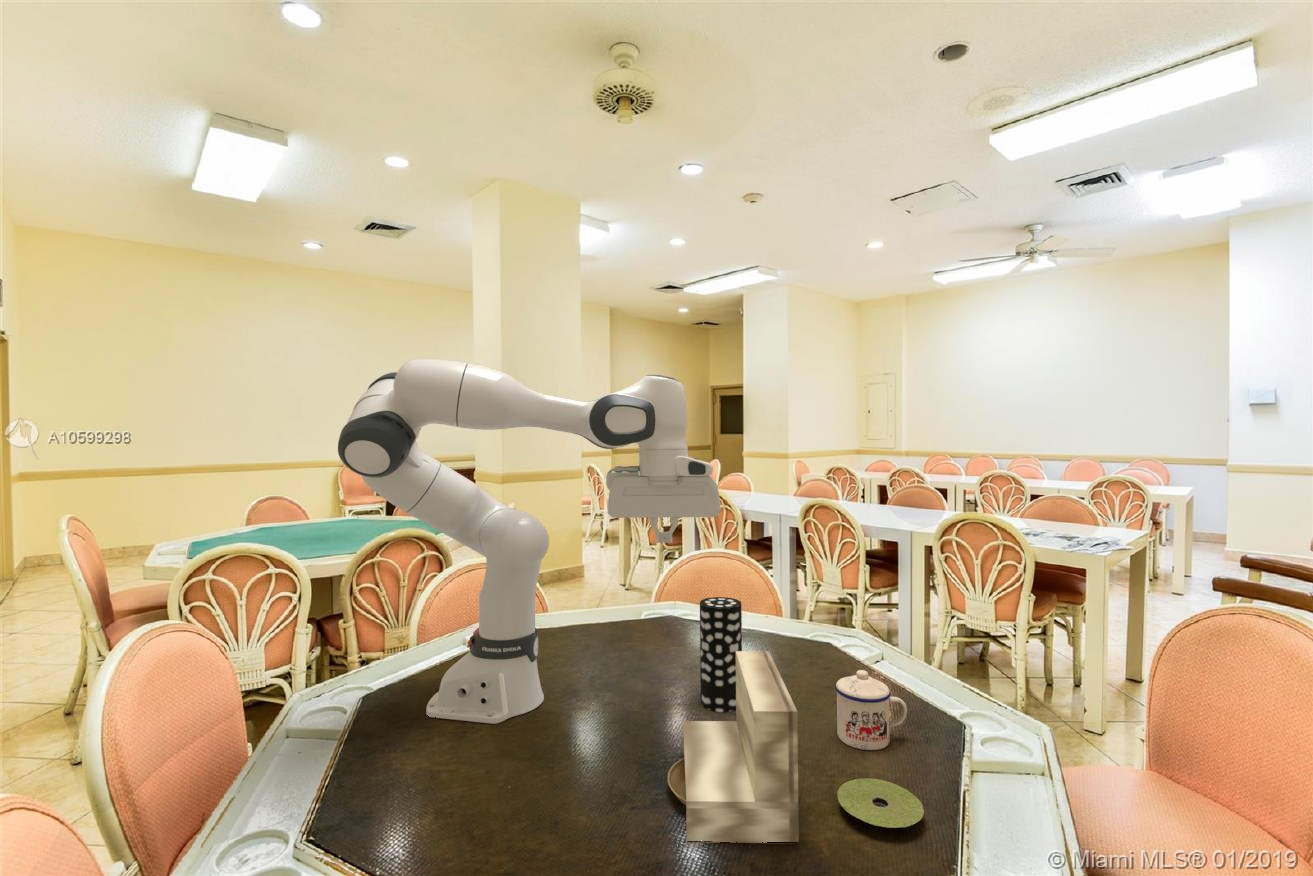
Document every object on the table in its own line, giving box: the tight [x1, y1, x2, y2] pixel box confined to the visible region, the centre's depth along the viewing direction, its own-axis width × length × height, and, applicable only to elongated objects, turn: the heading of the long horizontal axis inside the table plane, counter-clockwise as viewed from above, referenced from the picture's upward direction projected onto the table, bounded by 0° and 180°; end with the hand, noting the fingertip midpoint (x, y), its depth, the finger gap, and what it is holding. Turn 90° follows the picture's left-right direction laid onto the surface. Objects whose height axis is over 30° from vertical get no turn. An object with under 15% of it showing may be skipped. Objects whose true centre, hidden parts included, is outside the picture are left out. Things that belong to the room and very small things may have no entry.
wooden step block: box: [682, 650, 800, 844], centre depth 87 cm, size 14×22×17 cm, turn 179°
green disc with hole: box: [836, 777, 925, 829], centre depth 81 cm, size 11×11×2 cm
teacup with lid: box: [835, 669, 908, 751], centre depth 102 cm, size 12×9×12 cm
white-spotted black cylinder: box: [699, 596, 743, 713], centre depth 117 cm, size 8×8×20 cm
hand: (664, 542), depth 106 cm, fingers closed
